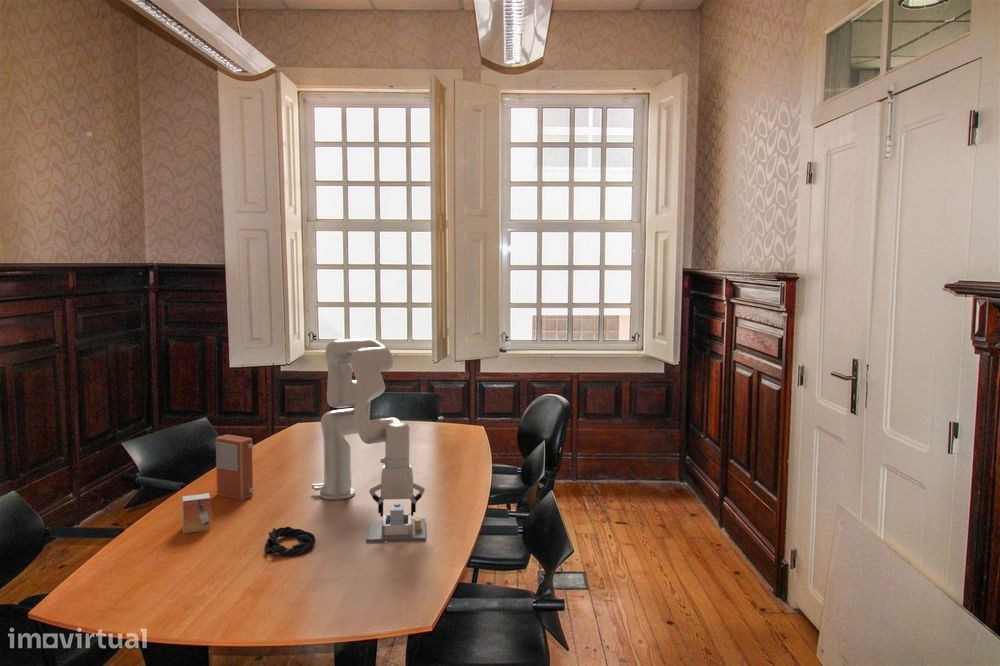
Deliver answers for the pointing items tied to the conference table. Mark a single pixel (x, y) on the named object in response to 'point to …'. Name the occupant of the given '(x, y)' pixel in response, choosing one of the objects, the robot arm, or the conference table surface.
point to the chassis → (397, 530)
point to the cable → (295, 549)
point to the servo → (396, 514)
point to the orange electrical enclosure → (234, 466)
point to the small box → (196, 513)
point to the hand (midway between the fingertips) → (397, 514)
